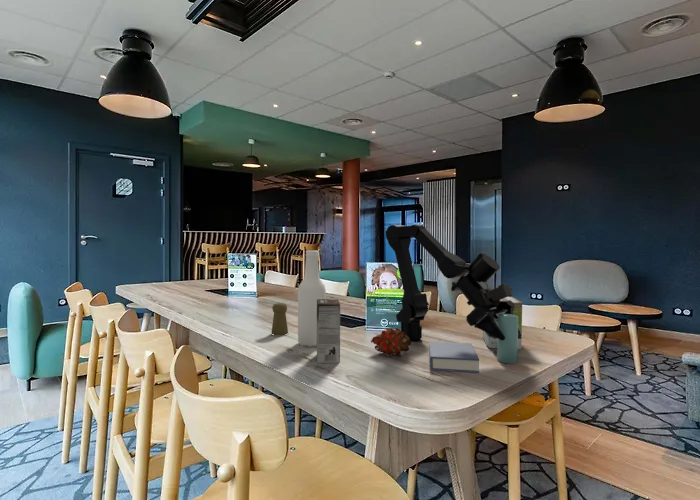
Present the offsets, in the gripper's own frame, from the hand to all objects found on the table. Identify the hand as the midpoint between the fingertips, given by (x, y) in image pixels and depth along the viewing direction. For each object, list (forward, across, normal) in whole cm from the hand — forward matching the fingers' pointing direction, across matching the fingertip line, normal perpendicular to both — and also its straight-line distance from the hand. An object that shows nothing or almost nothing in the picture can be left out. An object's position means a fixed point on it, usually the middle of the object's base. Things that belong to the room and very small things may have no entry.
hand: (511, 336), depth 108 cm
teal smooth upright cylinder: (+4, 0, +6) cm, 7 cm away
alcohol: (-32, -28, +42) cm, 60 cm away
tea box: (-3, +17, +13) cm, 22 cm away
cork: (-46, -28, +55) cm, 77 cm away
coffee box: (-21, -34, +31) cm, 51 cm away
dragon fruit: (-14, -19, +24) cm, 34 cm away
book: (-3, -12, +13) cm, 18 cm away
